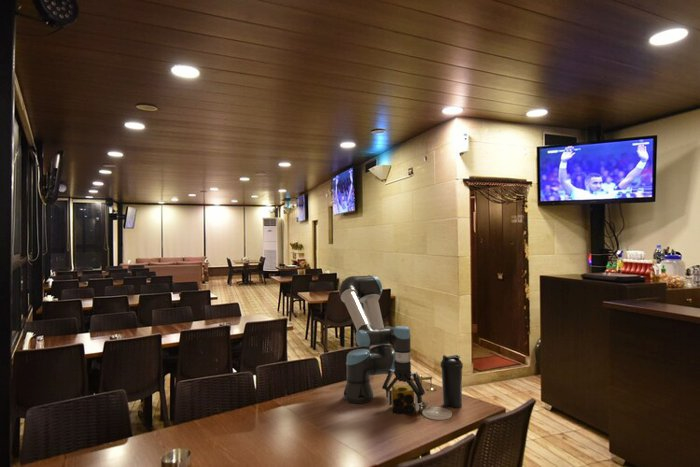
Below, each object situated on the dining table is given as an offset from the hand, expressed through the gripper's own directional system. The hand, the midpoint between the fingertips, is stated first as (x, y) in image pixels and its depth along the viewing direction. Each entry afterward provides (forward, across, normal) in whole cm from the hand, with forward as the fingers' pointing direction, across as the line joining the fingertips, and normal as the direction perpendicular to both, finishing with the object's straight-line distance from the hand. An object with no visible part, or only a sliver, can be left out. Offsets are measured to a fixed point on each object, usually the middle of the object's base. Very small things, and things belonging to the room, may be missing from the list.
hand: (403, 407), depth 191 cm
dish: (+1, +15, +3) cm, 15 cm away
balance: (+1, +4, +11) cm, 12 cm away
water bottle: (+2, +18, +17) cm, 25 cm away
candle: (+2, 0, 0) cm, 2 cm away
